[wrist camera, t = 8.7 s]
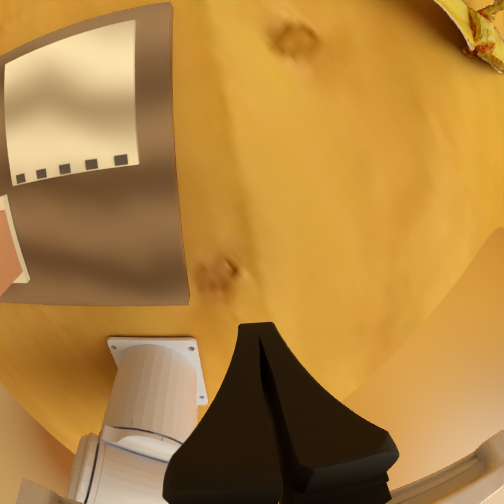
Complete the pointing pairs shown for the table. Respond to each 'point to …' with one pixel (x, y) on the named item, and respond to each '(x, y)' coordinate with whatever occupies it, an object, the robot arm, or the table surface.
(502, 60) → the origami crane
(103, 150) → the board
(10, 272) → the stub
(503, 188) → the table surface
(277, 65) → the table surface
